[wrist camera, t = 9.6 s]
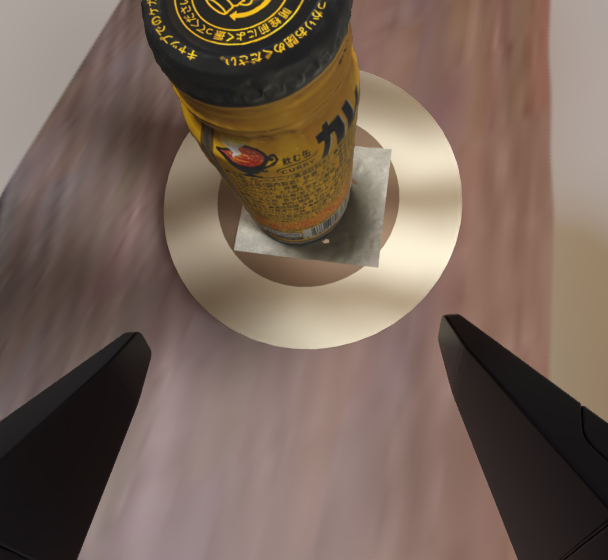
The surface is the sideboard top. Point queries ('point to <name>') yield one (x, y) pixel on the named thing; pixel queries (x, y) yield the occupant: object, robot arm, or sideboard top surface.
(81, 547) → the robot arm
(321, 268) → the ring
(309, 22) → the condiment
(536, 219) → the sideboard top surface
